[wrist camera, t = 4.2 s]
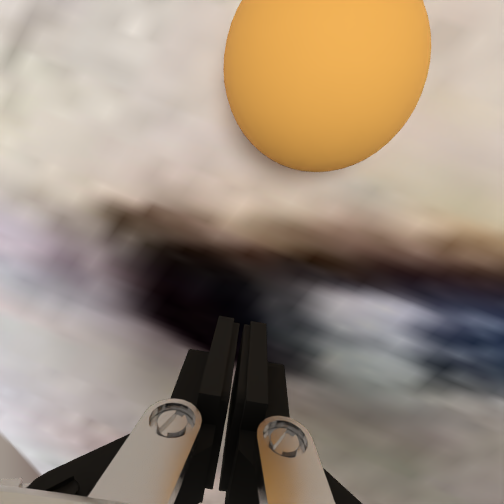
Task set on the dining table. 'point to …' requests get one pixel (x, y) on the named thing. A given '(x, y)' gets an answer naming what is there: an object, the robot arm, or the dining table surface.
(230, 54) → the ball
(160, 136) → the dining table surface
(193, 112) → the dining table surface
